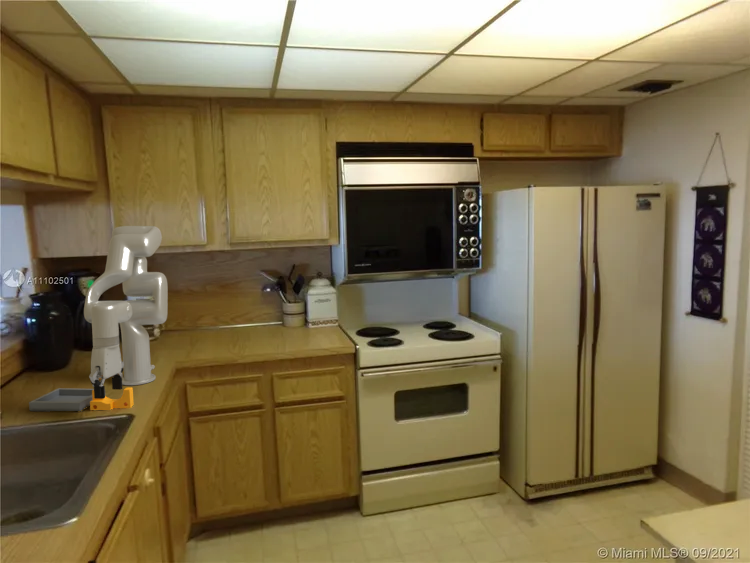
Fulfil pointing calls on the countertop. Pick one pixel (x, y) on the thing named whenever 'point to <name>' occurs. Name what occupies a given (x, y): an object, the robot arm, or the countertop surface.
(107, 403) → the pipe clamp
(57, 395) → the parts tray
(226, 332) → the countertop surface
